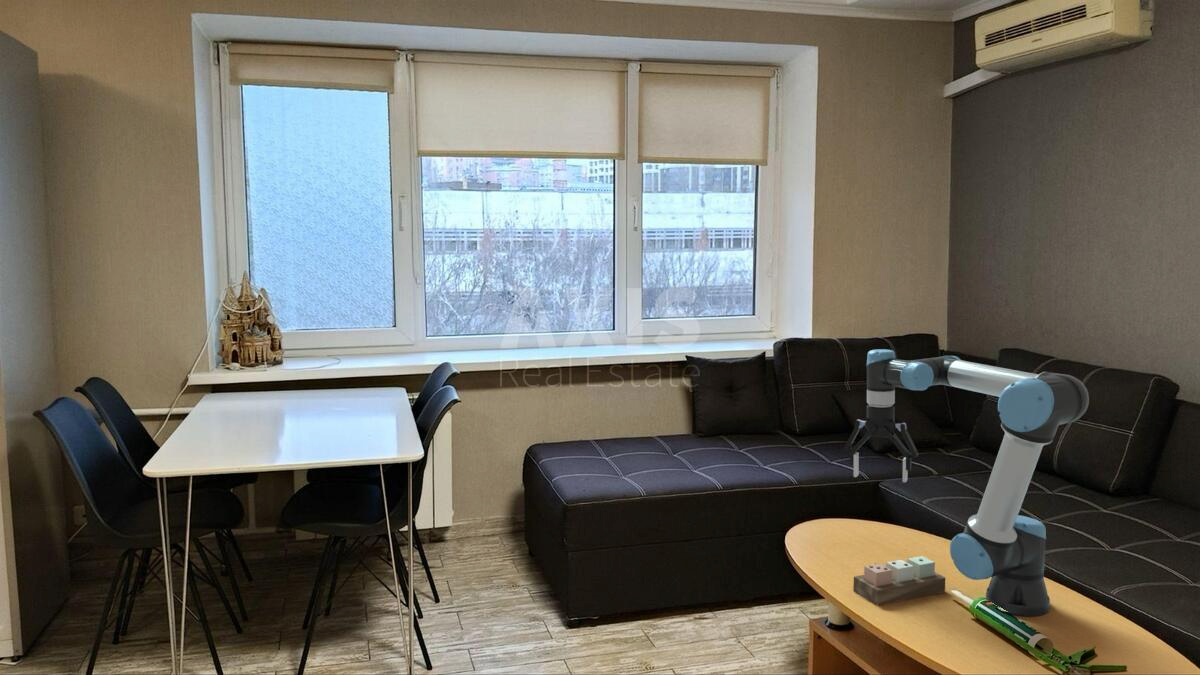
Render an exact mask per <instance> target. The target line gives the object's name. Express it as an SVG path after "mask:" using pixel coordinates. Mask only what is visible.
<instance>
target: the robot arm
mask: <svg viewBox="0 0 1200 675" xmlns="http://www.w3.org/2000/svg"><path fill="white" fill-rule="evenodd" d="M866 358H867V359H866V364H865V365H866V403H867V405H866V420H861V418H858V419H856V420H855V422H854V426H853V427H854V428H853V429H852V431H851V433H850V436H849V437H848V440H847V441H846V443H845V445H844V447H843V451H844V452H847V453H849V458H850V459H849V460H850V461H849V463H850V465H853V477H854V478H857V477H858V476H860V475H859V473H860V472H859V471H860V470H859V469H860V466H859V464H860V462H859V461H860V459H859V454H860V453H859V452H857V451H858V450H859V449H860V448H861V447H862V446H863V445H864V444H865V443H866V441H867V440H868V439H869V438H870V437H871V436H872V437H873V438H876V439H878V438H880V439H881V438H882V439H886V438H888V439H889V441H891V442H892V443H893V444H894V446H896V448H897V450H899V452H900V453H901V454H902V456H903V459H902V483H907V481H908V474H909V473H908V471H911V470H912V460H913V459H915V458H918V456H919V452H918V450H917V447H916V446H915V444H914V441H913V438H912V437H911V435H910V434H909V431H908V426H907V423H906V422H905V421H904V422H902V423H896V421H895V419H896V418H895V416H896V415H895V412H896V411H895V410H896V409H895V408H896V406H895V405H894V404H895V403H896V401H895V400H896V398H895V397H896V395H895V394H896V388H901V389H906V390H910V391H925V390H927V389H928V388H929V387H932V386H938V385H943V386H948V387H951V388H952V387H953V388H958V389H962V390H966V391H971V392H975V393H981V394H985V395H989V396H994V397H998V402H997V412H999V418H1000V421H1001V423H1000V427H1001V429H1002V431H1003V432H1004V435H1003V439H1002V442H1001V444H1000V447H999V450H998V452H997V456H996V458H995V462H994V464H993V467H992V470H991V474H990V476H989V479H988V481H987V486H986V488H985V491H984V493H983V496H982V499H981V502H980V505H979V508H978V510H977V513H976V514H973V515H971V516H970V517H968V520H967V522H966V525H965V528H964V530H963V532H962V533H958V534H956V535H955V536H954V537H953V538H952V539H951V541H950V543H949V553H950V558H951V560H952V562H953V564H954V566H955V568H956V570H958V571H959V573H961V574H962V575H963V576H964V577H966V578H967V579H970V580H973V581H975V580H976V581H980V580H988V579H990V578H991V579H990V582H989V584H988V587H987V588H986V591H985V600H986V599H987V600H989V601H990V602H992V603H994V604H995V605H997V606H999V607H1001V608H1003V609H1004V610H1006V611H1008V612H1009V613H1008V614H1010V613H1011V615H1014V616H1015V615H1016V616H1023V617H1024V616H1025V617H1036V616H1042V615H1045V614H1047V613H1049V612H1050V609H1051V599H1050V596H1049V595H1048V590H1047V586H1046V582H1045V579H1044V576H1045V575H1044V574H1045V559H1046V542H1047V536H1046V532H1047V531H1046V526H1045V524H1044V523H1042V522H1041V521H1039V520H1038V519H1035V518H1032V517H1030V516H1024V515H1019V513H1020V511H1021V507H1022V505H1023V502H1024V499H1025V496H1026V494H1027V491H1028V488H1029V486H1030V483H1031V480H1032V477H1033V474H1034V471H1035V469H1036V466H1037V463H1038V461H1039V458H1040V456H1041V453H1042V450H1043V447H1044V446H1046V445H1050V444H1051V443H1052V442H1053V441H1054V439H1055V435H1056V433H1057V431H1058V428H1059V426H1060V425H1065V424H1069V423H1073V422H1075V421H1077V420H1078V419H1081V417H1082V416H1083V415H1084V414H1086V411H1087V409H1088V407H1089V403H1090V397H1089V396H1090V395H1089V390H1088V389H1087V387H1086V386H1085V384H1084V383H1083V382H1082V381H1081V380H1080V379H1078V378H1076V377H1075V376H1073V375H1070V374H1064V373H1063V374H1062V373H1058V372H1057V373H1055V372H1049V371H1042V372H1041V373H1039V374H1037V373H1034V372H1026V371H1021V370H1015V369H1011V368H1005V367H999V366H995V365H994V366H993V365H989V364H983V363H977V362H973V361H972V362H971V361H968V360H967V361H966V360H962V359H961V358H960V357H958V356H956V355H943V356H937V357H930V358H921V359H920V358H919V359H913V360H906V359H905V360H904V359H899V358H897V357H896V352H895V351H894V350H892V349H885V348H883V349H882V348H881V349H878V348H877V349H872V350H869V351H868V352H867V356H866ZM864 426H865V428H866V429H867V432H866V433H865V434H864V435H863V436H862V438H860V439H859V441H858V442H857V443H856V444H855V445H854V446H853V447H852V445H853V443H854V441H855V440H856V438H857V435H858V434H859V432H860V430H861V429H862V428H863V427H864ZM896 429H897V430H898V432H900V433H901V436H902V438H903V441H904V442H905V443H906V445H904V443H903V442H902V441H901V440H900V439H899V437H898V435H897V434H896V433H895V430H896ZM906 446H907V447H906Z"/></svg>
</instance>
